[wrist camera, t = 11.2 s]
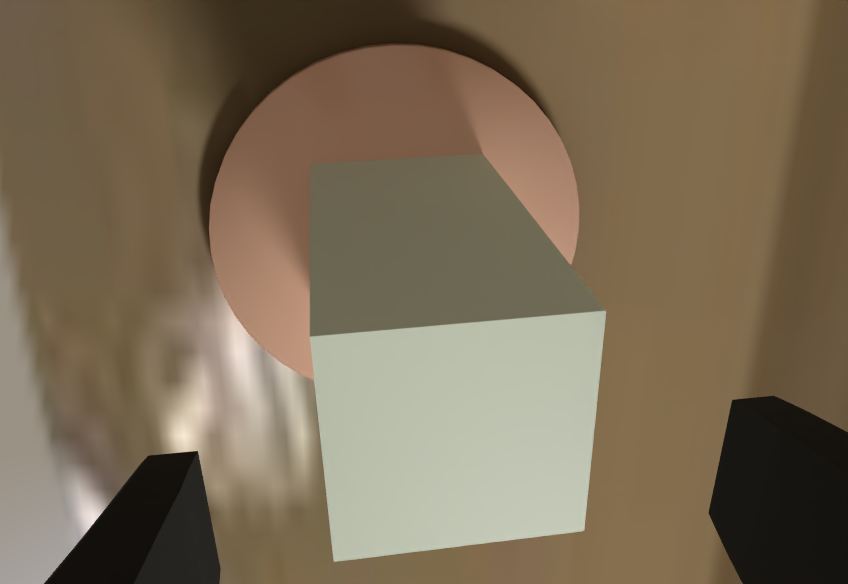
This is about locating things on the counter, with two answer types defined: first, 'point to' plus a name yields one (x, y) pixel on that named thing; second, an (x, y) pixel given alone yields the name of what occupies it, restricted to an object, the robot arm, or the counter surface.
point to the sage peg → (446, 359)
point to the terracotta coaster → (358, 141)
